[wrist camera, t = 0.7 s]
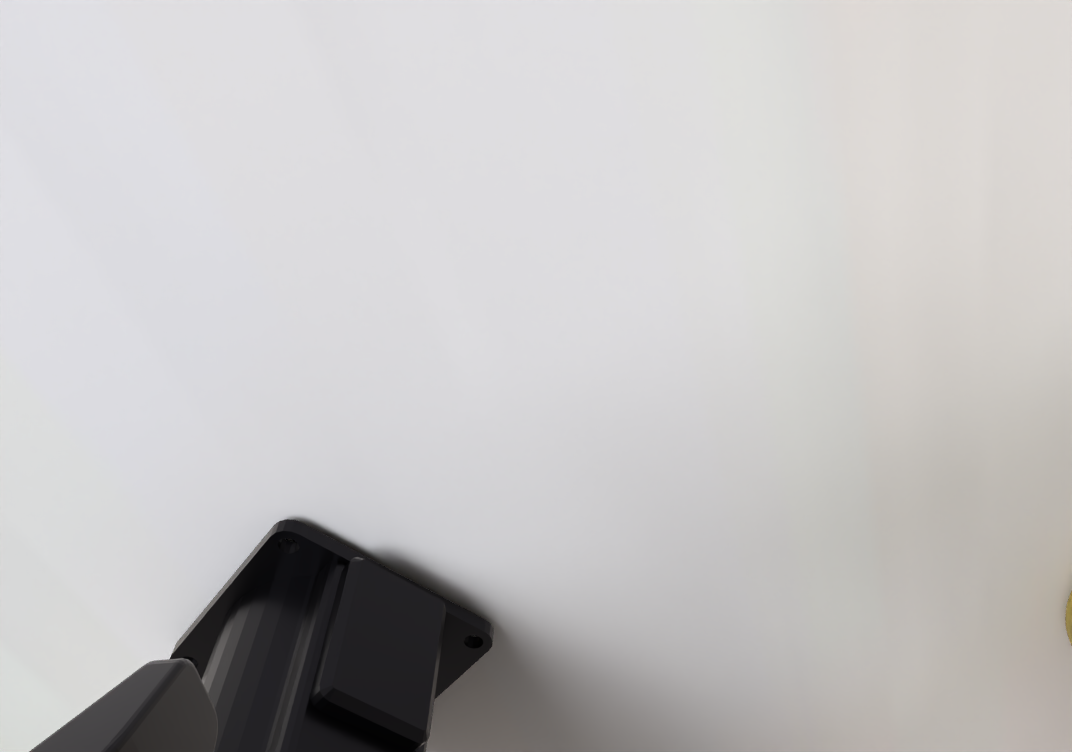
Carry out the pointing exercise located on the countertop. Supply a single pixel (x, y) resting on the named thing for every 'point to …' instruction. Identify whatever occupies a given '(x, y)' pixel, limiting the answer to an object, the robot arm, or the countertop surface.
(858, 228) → the countertop surface
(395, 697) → the robot arm
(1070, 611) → the vase
